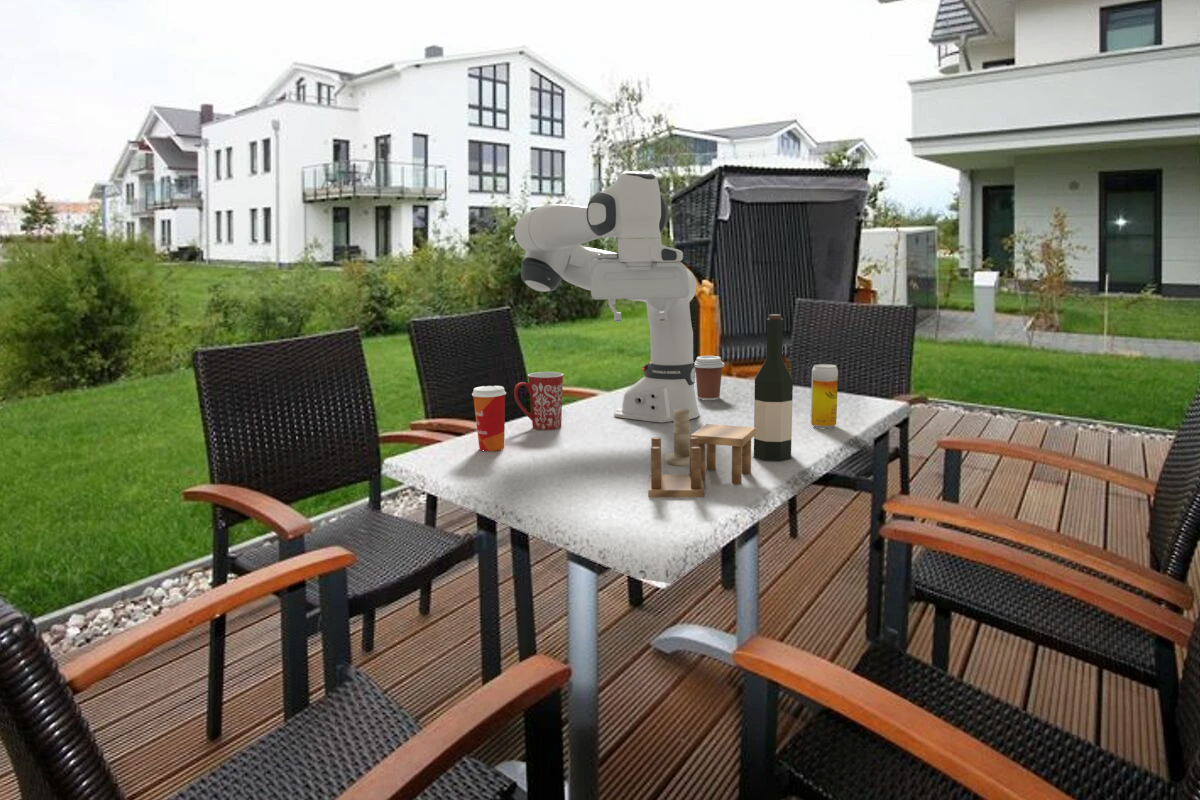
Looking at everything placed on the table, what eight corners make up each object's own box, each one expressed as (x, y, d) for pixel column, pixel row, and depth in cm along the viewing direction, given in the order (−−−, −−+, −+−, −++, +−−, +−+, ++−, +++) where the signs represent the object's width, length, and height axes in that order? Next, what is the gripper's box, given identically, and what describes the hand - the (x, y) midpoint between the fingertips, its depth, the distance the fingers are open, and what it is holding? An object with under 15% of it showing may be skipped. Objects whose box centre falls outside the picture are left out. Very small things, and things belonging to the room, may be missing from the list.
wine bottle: (761, 449, 178) (764, 312, 172) (798, 454, 173) (801, 313, 167) (745, 458, 171) (747, 316, 165) (783, 463, 166) (786, 317, 160)
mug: (561, 421, 210) (559, 370, 207) (568, 429, 201) (567, 375, 199) (512, 425, 207) (510, 373, 204) (518, 433, 198) (516, 379, 195)
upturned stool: (648, 498, 147) (647, 450, 145) (649, 482, 156) (648, 436, 155) (703, 498, 146) (704, 449, 144) (701, 482, 156) (701, 436, 154)
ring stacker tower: (661, 464, 168) (660, 412, 165) (672, 456, 173) (671, 406, 171) (691, 467, 165) (691, 414, 163) (701, 459, 171) (701, 408, 169)
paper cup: (475, 445, 187) (472, 385, 185) (509, 443, 188) (506, 384, 185) (473, 453, 180) (470, 392, 177) (508, 452, 180) (505, 390, 178)
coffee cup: (689, 400, 233) (689, 359, 231) (697, 394, 242) (697, 354, 239) (720, 402, 230) (720, 360, 228) (727, 396, 238) (727, 355, 236)
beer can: (837, 429, 194) (839, 367, 191) (811, 429, 195) (812, 367, 192) (835, 423, 200) (837, 363, 197) (809, 423, 201) (811, 363, 198)
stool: (691, 480, 156) (690, 434, 154) (706, 466, 165) (706, 423, 163) (741, 485, 152) (742, 439, 150) (754, 471, 161) (755, 427, 159)
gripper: (587, 254, 162) (589, 323, 165) (690, 252, 161) (690, 321, 164) (589, 253, 168) (591, 320, 171) (688, 251, 167) (688, 318, 170)
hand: (640, 320), depth 167 cm, fingers open, 8 cm apart
